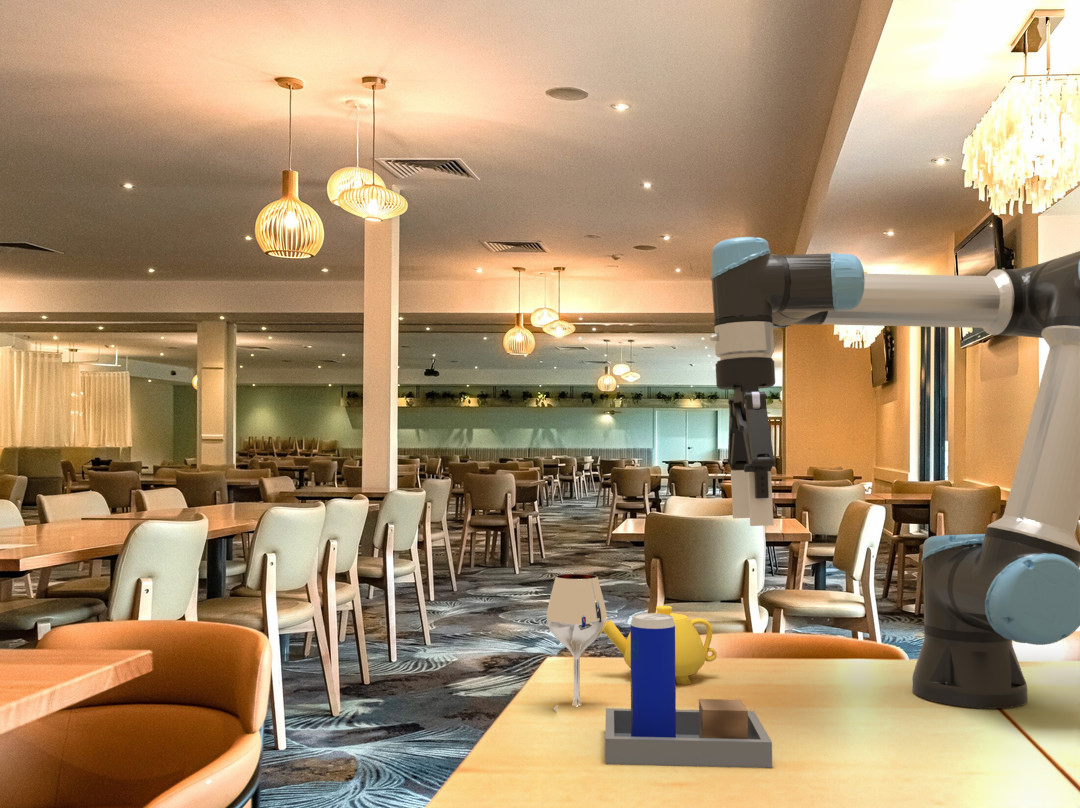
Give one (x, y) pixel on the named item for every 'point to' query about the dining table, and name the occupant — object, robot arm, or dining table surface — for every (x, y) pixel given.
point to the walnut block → (723, 719)
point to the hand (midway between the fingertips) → (752, 521)
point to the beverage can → (653, 676)
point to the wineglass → (576, 617)
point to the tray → (684, 744)
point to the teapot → (686, 644)
